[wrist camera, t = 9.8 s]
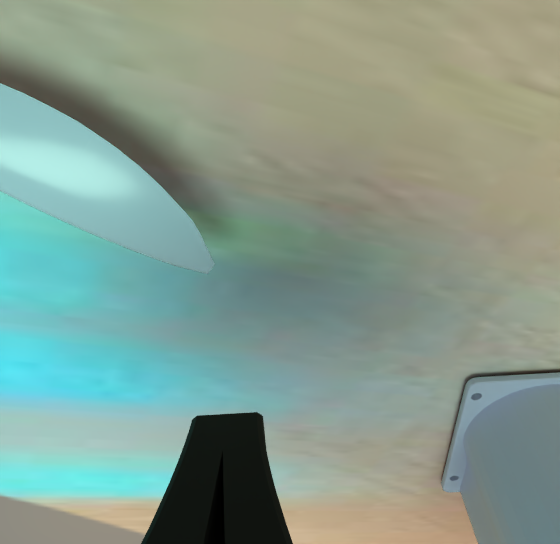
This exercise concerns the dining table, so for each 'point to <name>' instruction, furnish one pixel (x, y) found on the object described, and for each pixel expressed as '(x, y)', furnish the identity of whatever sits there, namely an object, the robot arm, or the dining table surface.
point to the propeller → (91, 184)
